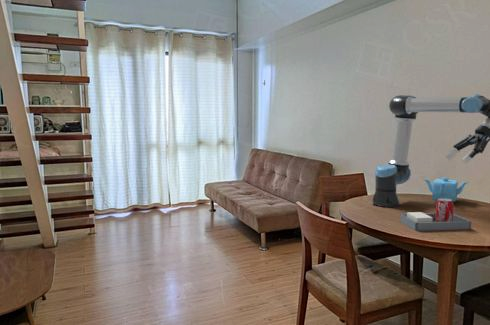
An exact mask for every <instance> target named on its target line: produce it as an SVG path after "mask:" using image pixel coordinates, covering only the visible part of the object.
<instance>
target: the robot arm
mask: <svg viewBox="0 0 490 325" xmlns="http://www.w3.org/2000/svg"><path fill="white" fill-rule="evenodd" d="M388 108H389V111H390V112H391V113H392V115H393V114H394V118H395V120H396V126H395V127H396V128H395V134H394V140H393V141H394V142H393V150H392V154H391V155H392V156H391V159H390V160H389V161H388V164H381V165H378V166H377V167H376V168H375V187H374V188H375V189H374V190H375V191H374V194H373V198H372V200H371V204H372V203H373V204H375V205H379V206H378V207H380V206H385V207H384V208H395V207H399V206H400V201H399V200H400V199H399V196H398V194H397V185H402V184H405V183H406V182H408V181H409V179H410V178H411V175H412V173H411V169H410V163H409V162H408V156H409V150H410V149H409V148H410V142H411V137H412V136H411V134H412V129H413V128H412V127H413V122H414V121H416V119H417V114H418V113H465V114H466V113H467V114H468V113H469V114H474V113H477V114H478V113H479V114H481V115H483V116H484V117H487V118H485V120H483V122H482V123H480V124H479V126H478V127H477V128H475V130H474V134H473V135H472V134H468V135H467V136H466V137H465V138H463V139H462V140H459V141H458V142H457V143H455V144H454V145H453V149H452V150H451V151H450V152H449V153H448V154H447V155H446V156H445V158H446V159H447V160H448V161H451V160H452V159H453V158H455V157H456V156H457V154H458V153H460V151H461V150H463V149H465V148H467V147H469V146H473V145H474V147H473V148H472V149H471V150H470V151H469V152H468V153H467V154H465V156H464V157H463V158H462V161H463V163H465V164H468V163H469V162H470V161H471V160H473V158H474V157H475V156H476V155H477V154H482V153H483V152H484V151H485V149H486V148H487V145H488V143H489V142H490V99H489V98H487V97H485V96H484V95H481V94H474V95H473V96H467V97H465V96H464V97H461V96H460V97H459V96H458V97H416V96H414V95H401V94H400V95H395V96H394V97H393V98H392V99H391V100H390V101H389V105H388ZM373 204H372V205H373ZM375 205H374V206H375Z"/></svg>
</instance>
